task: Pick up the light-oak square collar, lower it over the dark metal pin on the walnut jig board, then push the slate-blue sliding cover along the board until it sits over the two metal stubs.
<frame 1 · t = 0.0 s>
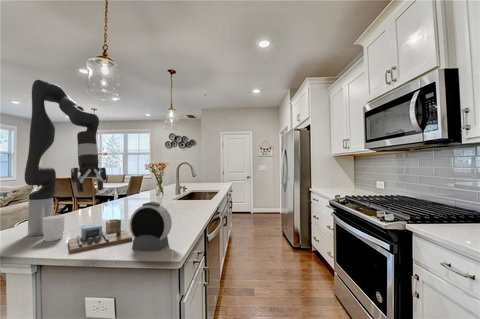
hand: (91, 191, 98), 22 cm above the counter, tool pointing down, fingers open, 8 cm apart
white cup: (53, 239, 102), on the counter
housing: (91, 231, 99), point 4 cm above the counter, slide at 0.0 cm
collar: (113, 232, 112), on the counter
alarm clock: (150, 247, 92), on the counter
jig board: (100, 241, 98), on the counter
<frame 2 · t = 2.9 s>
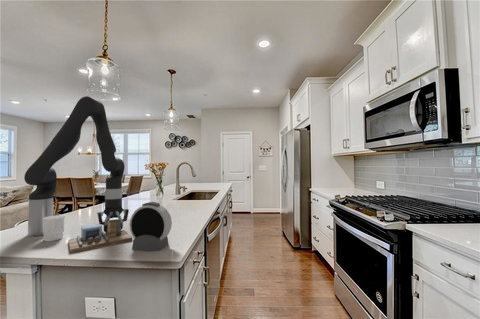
hand: (113, 231, 112), 1 cm above the counter, tool pointing down, fingers closed on collar, 5 cm apart
collar: (113, 232, 112), on the counter, touching gripper
everything else where it was.
when the fingers open (4 cm above the counter, at t = 7.8 s): collar drops 2 cm, resting on jig board.
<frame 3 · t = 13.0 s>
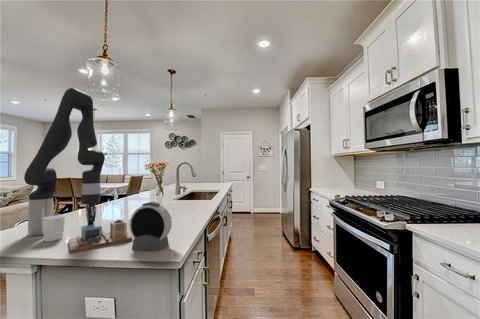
hand: (90, 230, 103), 4 cm above the counter, tool pointing down, fingers closed
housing: (91, 231, 99), point 4 cm above the counter, slide at 0.0 cm, touching gripper
collar: (118, 235, 102), point 1 cm above the counter, touching jig board
everything else where it was.
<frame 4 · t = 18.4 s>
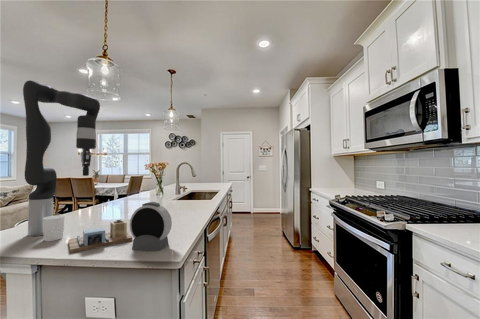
hand: (85, 175, 103), 29 cm above the counter, tool pointing down, fingers closed
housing: (94, 236, 93), point 4 cm above the counter, slide at 8.3 cm
everything else where it was.
at the end: collar 0.0 cm from the target spot, point 1.5 cm above the counter; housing slide at 8.3 cm; the gripper is holding nothing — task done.
